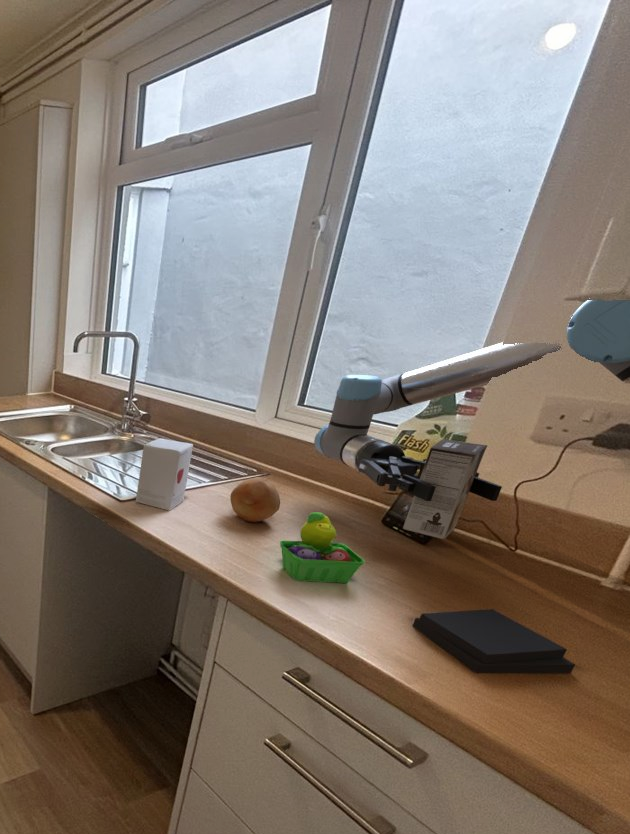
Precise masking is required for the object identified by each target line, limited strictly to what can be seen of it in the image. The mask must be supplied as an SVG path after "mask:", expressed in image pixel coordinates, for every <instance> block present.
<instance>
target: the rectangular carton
mask: <svg viewBox="0 0 630 834" xmlns="http://www.w3.org/2000/svg"><path fill="white" fill-rule="evenodd" d="M193 448H194V444H193V443H190V442H185V441H184V442H183V441H177V440H172V439H167V438H160V437H159V438H157V439H154V440H151V441H150V442H147V443H146V444H143V449H142V455H141V463H140V470H139V477H138V483H137V489H136V497H135V502H136V503H140V504H143V505H146V506H151V507H154V508H158V509H162V510H164V511H165V510H166V511H170V512H171V510H173V509H174V508H176V507H177V506H179V505H180V504H182V503H183V502H184V500H185V499H184V498H185V496H186V495H185V494H186V489H187V482H188V478H189V471H190V465H191V460H192V454H193Z"/></svg>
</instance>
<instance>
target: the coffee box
mask: <svg viewBox="0 0 630 834" xmlns="http://www.w3.org/2000/svg"><path fill="white" fill-rule="evenodd" d="M487 447H488V445H487V444H482V443H481V444H480V443H473V442H466V441H459V440H452V439H446V438H445V439H444V438H441V440H439V441H438V442H437V443H435V444H434V445H433V446H431V447H430V449H429V451H428V454H427V457H426V459H427V460H426V463H425V466H424V468H423V471H422V474H421V477H420V479H419V480H421V481H423V482H426V483H428V484H431V485H433V486H435V487H436V488H435V491H434V494H433V497H432V499H431V501H425V500H423V499H421V498H419V497H416V496H414V495H413V497H412V501H411V504H410V505H409V509H408V511H407V515H406V518H405V521H404V524H403V527H402V529H403V530H404V531H405V530H406V531H410V532H414V533H417V534H422V535H425V536H429V537H433V538H437V539H441V540H445V539H447V537H449V535H451V533H452V531H454V529H455V528H456V527H457V525H458V521H459V519H460V517H461V514H462V511H463V509H464V507H465V503H466V501H467V498H468V496H469V493H470V492H469V491H470V488H471V486H472V483H473V481H474V478H475V475H476V473H478V470H479V468H480V465H481V462H482V460H483V457H484V455H485V452H486V450H487Z"/></svg>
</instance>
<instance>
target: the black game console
mask: <svg viewBox="0 0 630 834" xmlns="http://www.w3.org/2000/svg"><path fill="white" fill-rule="evenodd" d="M412 627H413V628H415V630H417V631H418V632H420V633H421V634H423V635H424V637H426V638H427V639H429V640H431V642H433V643H435V645H437V646H438V647H439V648H441V649H442V650H444V651H445V652H446V653H448V654H449V655H451V657H453V658H454V659H456V660H457V661H458V662H459V663H461V664H462V665H463V666H465V667H466V668H468V669H469V670H470V671H472V672H473V673H475V674H571V673H572V672H573V670H574V668H575V666H576V664H575V663H573V662H572V661H570V659H567V658H566V657H564V656H565V655H566V653H567V651H568V649H567V648H565V647H564V646H562V645H560V644H558V643H557V642H555V641H552V640H551V639H549V638H547V637H546V636H543V635H541V634H540V633H538V632H536V631H535V630H532V629H531V628H529V627H527V626H525V625H523V624H522V623H519V622H518V621H515V620H514V619H512V618H510V617H508V616H506V615H504V614H503V613H501V612H499V611H497V610H495V609H494V608H486V609H471V610H456V611H453V610H452V611H440V612H439V611H438V612H424V613H423V612H422V613H421V614H420V616H419V617H415V618H414V621H413V623H412Z"/></svg>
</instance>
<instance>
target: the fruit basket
mask: <svg viewBox="0 0 630 834" xmlns="http://www.w3.org/2000/svg"><path fill="white" fill-rule="evenodd" d="M299 532H300V533H299V536H300V539H301V540H280V542H279V544H280V548H281V560H282V567H283V569H284V570H285V571H286V573H287V574H288V575H289V576H291V578H292V579H293V580H294V581H300V582H304V581H307V582H323V583H340V584H347V583H349V581H350V580H351V579H352V578H353V576H354V575H355V574H356V572H357V571H358V570H359V568H361V567H362V566H363V565H364V563H365V562H366V561H365V559H363V558H362V557H361V556H360V555H358V554H357V553H356V552H355V551H354V550H352V549H351V548H350V547H349V546H348V545H346V544H345V543H341V542H332V541H333V540H335V539H337V531H336V529H335V527H334V526H333V524H332V523H331V520H330V518H329V517H328V515H325V514H324V513H323V512H321V511H314V512H310V514H309V515H308V516H307V520H306V522H305V523H304V524H303V525H302V527H301V529H300V531H299Z"/></svg>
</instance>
